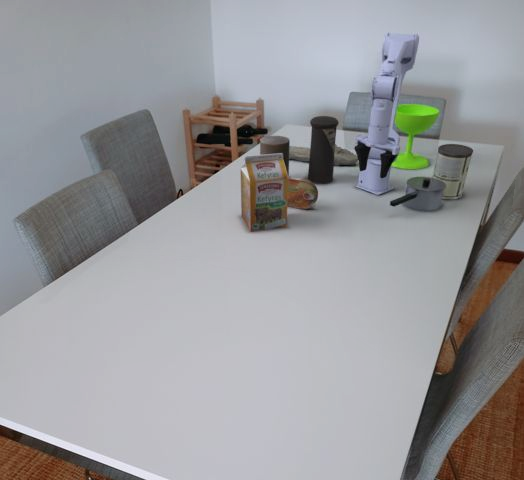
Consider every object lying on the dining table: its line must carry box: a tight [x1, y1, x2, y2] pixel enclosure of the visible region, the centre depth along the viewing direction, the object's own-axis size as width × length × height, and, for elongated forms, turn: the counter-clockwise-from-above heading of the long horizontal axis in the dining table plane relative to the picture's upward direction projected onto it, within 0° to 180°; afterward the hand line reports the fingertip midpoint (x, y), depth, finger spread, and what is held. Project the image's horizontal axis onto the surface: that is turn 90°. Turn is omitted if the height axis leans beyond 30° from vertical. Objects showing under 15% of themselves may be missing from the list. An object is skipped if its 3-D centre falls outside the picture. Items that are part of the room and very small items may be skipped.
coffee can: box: [432, 143, 474, 200], centre depth 160 cm, size 10×10×14 cm
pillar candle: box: [259, 135, 290, 177], centre depth 168 cm, size 10×10×15 cm
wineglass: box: [391, 103, 440, 170], centre depth 183 cm, size 16×16×18 cm
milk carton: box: [240, 153, 288, 233], centre depth 141 cm, size 11×11×19 cm
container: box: [307, 115, 340, 185], centre depth 167 cm, size 9×9×20 cm
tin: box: [287, 176, 319, 210], centre depth 154 cm, size 15×3×8 cm, turn 62°
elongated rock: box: [289, 143, 359, 167], centre depth 189 cm, size 35×5×10 cm
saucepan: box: [389, 176, 446, 212], centre depth 153 cm, size 12×22×8 cm, turn 131°
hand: (372, 173), depth 149 cm, fingers open, 7 cm apart
